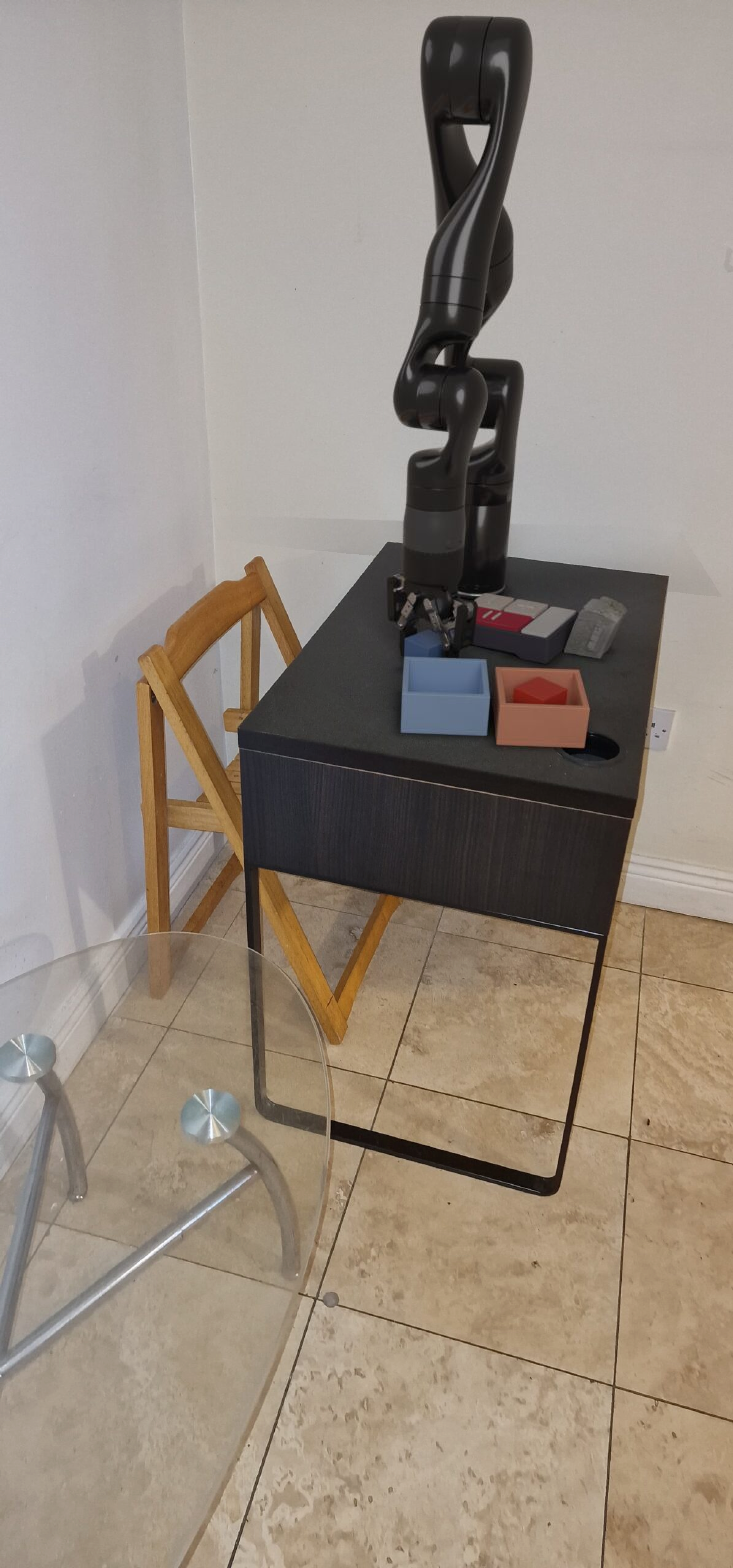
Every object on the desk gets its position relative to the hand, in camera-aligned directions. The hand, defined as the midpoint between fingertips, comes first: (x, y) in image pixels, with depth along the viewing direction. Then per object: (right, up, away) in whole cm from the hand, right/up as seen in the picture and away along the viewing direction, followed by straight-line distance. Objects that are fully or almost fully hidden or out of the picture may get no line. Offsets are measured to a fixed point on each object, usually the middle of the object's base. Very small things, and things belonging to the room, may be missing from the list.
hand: (427, 664), depth 132 cm
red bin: (+12, -9, -12) cm, 19 cm away
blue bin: (+1, -7, -10) cm, 12 cm away
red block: (+12, -8, -12) cm, 19 cm away
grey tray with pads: (+12, +5, +9) cm, 16 cm away
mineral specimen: (+23, +2, +6) cm, 23 cm away
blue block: (0, -1, +1) cm, 1 cm away
